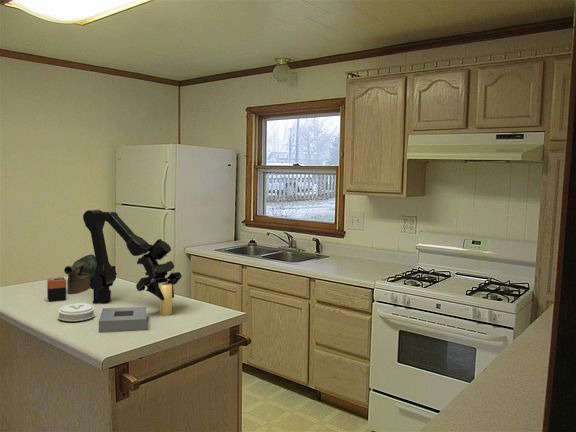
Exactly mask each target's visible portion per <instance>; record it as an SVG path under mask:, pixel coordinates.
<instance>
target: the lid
mask: <svg viewBox="0 0 576 432" xmlns="http://www.w3.org/2000/svg"><path fill="white" fill-rule="evenodd" d="M94 311H95V307H94V306H93V305H92V304H89V303H83V302H82V303H71V304H66V305H63V306H61V307H60V308H59V309H58V311H57V313H58V316H57V317H58V319H59V320H61V321H65V322H79V321H86V320H89V319H91V318H94V316H95V312H94Z"/></svg>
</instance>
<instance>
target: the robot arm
mask: <svg viewBox="0 0 576 432" xmlns="http://www.w3.org/2000/svg"><path fill="white" fill-rule="evenodd" d="M82 219H83V222H84V226H85V227H86V228H87V229H88V230H89V232H90V236H91V241H92V247H93V254H94V256H95V258H96V263H97V266H96V269H95V279H94V280H93V281H92V282H91V283H90V284H89V285H90V288H89V289H90V290H93V293H92V294H93V295H92V296H93V297H92V299H93V301H92V304H109V303H110V301H111V299H112V290H111V289H110V287H112V286H113V285H114V282H115V280H116V279H117V275H118V273H117V271H116V266H115V265H112V264H111V263H110V260H109V256H108V250H107V245H106V240H105V239H106V238H105V235H104V230H103V229H104V226H105V223H106V222H107V223H108V224H109V225H110V226H111V227H112V229H113V230H114V231H115V232H116V233H117V234H118V235H119V237H121V239H122V240H123V241H124V242H125V244H126V248H127V250H128V251H129V253H130V254H131V255H132V256H134V257H138V260H137V261H136V264H137V265H142V266H143V268H144V270H145V273H144V275H145V276H144V277H141V278H140V279H139V281H138V282H137V283H136V285H135V288H136V289H137V292H142V291H146V292H149V293H151V294H152V295H154V296H155V297H157V298H158V299H159V300H160V301H161V300H164V296H163V294H162V292H161V287H160V286H159V285H160V284H164V283H170V284H172V299H174V298H175V292H174V291H175V290H174V285H176V284H177V283H178V282H180V280H181V278H182V277H183V275H182V273H181V272H180V271H176V272H175V271H173V269H175V264H174V262H173V261H172V260H171V261H170V260H169V261H167V262H165V263H159V261H161V260H162V259H164V258H165V257H166V256H167V255H168V254H169V253H170V252H171V251H172V249H171V246H170V245H169V244H168V243H167V242H166V241H164V240H162V238H158V239H156V241H155V242H154V243H153V244H151V243H149V242H148V241H146V240H145V239H144V238H143V237H141V236H139V235H136V233H135V232H133V231H132V229H130V227H129V225H127V223H125V221H123V220H122V218H121V217H120V216H119V215H118V213H117V212H116V211H102V210H101V209H92V210H91V209H90V210H86V211H85V212H84V213H83V214H82ZM139 256H141V257H139ZM171 271H173V272H171ZM168 272H170V274H169V275H168ZM167 275H168V276H167ZM145 289H146V290H145Z"/></svg>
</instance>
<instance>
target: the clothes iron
mask: <svg viewBox="0 0 576 432" xmlns="http://www.w3.org/2000/svg"><path fill="white" fill-rule="evenodd" d="M84 266H85V264H84V263H83V262H81V263H79V264H76V265H75V266H72V265H66V266H65V267H64V269H63V270H64V271H63V272H64V273H65V274H66V275H67V279H66V287H67V288H66V293H67V294H68V295H76V294H80V293H83V292H85V291H88V290H89V289H90V285H89V284H90V274H89V273H85V272H84ZM77 269H80V271H79V272H76V270H77Z"/></svg>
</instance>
